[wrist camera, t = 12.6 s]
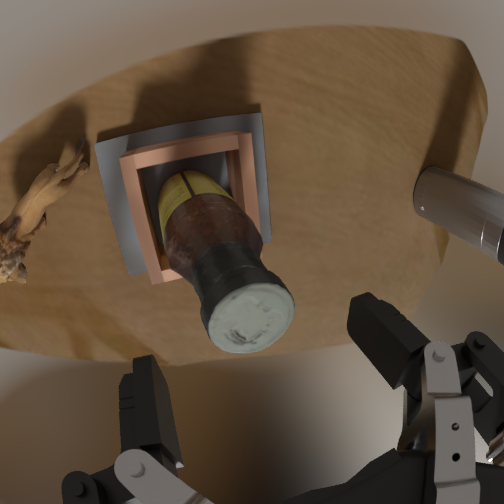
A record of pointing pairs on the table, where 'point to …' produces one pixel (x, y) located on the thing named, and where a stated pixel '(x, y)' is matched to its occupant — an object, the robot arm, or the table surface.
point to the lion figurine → (33, 215)
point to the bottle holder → (168, 163)
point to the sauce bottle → (222, 263)
